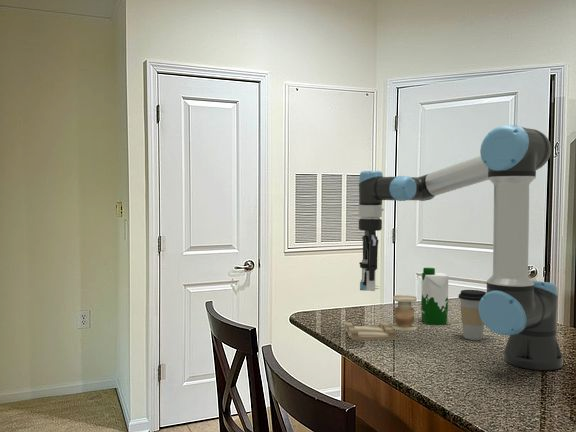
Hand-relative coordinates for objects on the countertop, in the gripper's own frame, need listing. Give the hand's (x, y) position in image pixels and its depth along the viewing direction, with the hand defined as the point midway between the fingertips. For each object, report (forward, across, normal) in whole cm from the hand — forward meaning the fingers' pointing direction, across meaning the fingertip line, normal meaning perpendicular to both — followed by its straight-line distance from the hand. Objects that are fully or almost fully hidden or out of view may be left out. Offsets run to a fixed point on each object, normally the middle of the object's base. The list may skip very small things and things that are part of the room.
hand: (369, 289), depth 181 cm
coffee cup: (+15, -5, -33) cm, 37 cm away
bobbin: (+15, +8, -14) cm, 22 cm away
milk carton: (+15, +15, -27) cm, 35 cm away
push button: (0, 0, 0) cm, 0 cm away
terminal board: (+15, 0, 0) cm, 15 cm away
